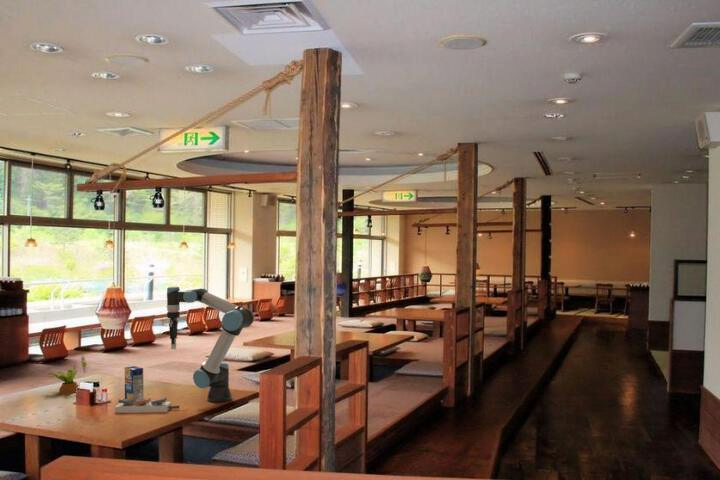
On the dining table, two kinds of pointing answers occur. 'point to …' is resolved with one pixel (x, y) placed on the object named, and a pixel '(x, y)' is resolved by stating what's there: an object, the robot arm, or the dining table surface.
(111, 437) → the dining table surface
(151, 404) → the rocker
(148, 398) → the rocker
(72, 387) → the decorative plant
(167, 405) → the power strip
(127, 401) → the rocker
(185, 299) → the robot arm
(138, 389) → the beverage box
